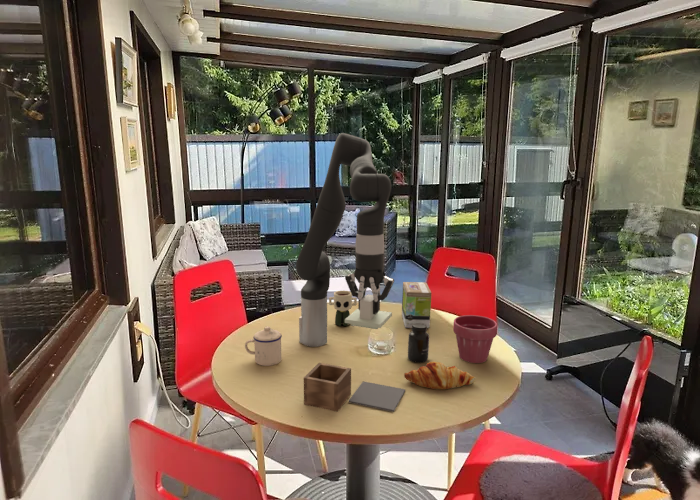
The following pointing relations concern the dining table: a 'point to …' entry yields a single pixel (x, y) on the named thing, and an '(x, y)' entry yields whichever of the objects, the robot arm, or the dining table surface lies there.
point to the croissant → (439, 376)
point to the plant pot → (474, 337)
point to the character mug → (342, 306)
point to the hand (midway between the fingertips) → (369, 312)
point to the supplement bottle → (418, 343)
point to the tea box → (416, 303)
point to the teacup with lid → (266, 346)
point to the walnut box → (327, 386)
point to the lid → (368, 315)
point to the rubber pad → (377, 396)
